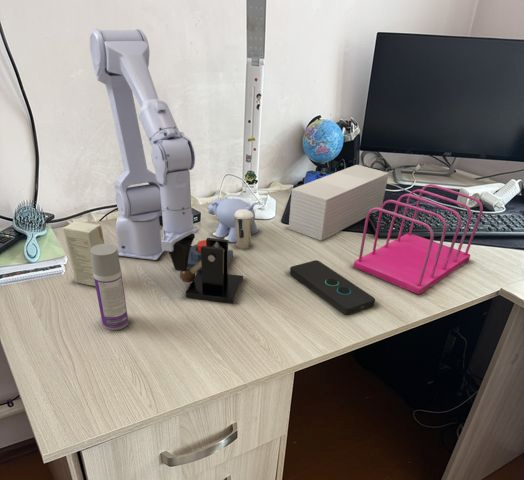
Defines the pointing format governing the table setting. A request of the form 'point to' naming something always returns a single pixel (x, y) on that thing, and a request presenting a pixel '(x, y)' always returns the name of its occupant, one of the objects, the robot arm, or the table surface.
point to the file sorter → (416, 247)
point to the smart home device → (332, 287)
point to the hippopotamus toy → (229, 216)
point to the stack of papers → (336, 201)
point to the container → (109, 286)
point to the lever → (194, 269)
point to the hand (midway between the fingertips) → (180, 269)
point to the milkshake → (243, 227)
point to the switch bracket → (215, 275)
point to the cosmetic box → (82, 248)
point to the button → (200, 244)
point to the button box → (196, 257)
